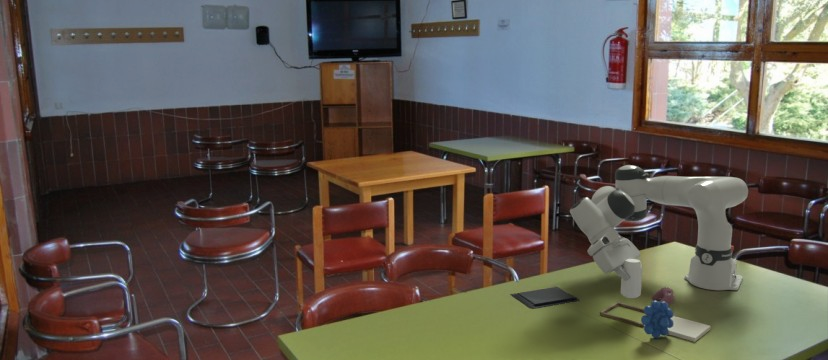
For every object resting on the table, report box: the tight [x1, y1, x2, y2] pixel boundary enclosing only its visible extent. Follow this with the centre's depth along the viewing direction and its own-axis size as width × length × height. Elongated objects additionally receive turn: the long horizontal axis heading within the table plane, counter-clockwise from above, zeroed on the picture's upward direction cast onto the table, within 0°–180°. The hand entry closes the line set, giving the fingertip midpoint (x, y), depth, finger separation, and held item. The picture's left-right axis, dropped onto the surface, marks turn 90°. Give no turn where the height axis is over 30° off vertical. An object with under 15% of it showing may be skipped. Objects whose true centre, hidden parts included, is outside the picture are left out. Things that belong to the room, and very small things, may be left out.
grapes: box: [640, 300, 675, 339], centre depth 204 cm, size 12×7×12 cm, turn 112°
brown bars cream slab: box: [599, 301, 712, 343], centre depth 218 cm, size 12×31×1 cm, turn 47°
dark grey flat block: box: [509, 286, 581, 310], centre depth 238 cm, size 20×2×15 cm
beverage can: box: [620, 258, 643, 299], centre depth 220 cm, size 6×6×12 cm
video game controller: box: [651, 286, 675, 306], centre depth 231 cm, size 10×5×7 cm, turn 169°
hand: (633, 276), depth 220 cm, fingers closed on beverage can, 6 cm apart
